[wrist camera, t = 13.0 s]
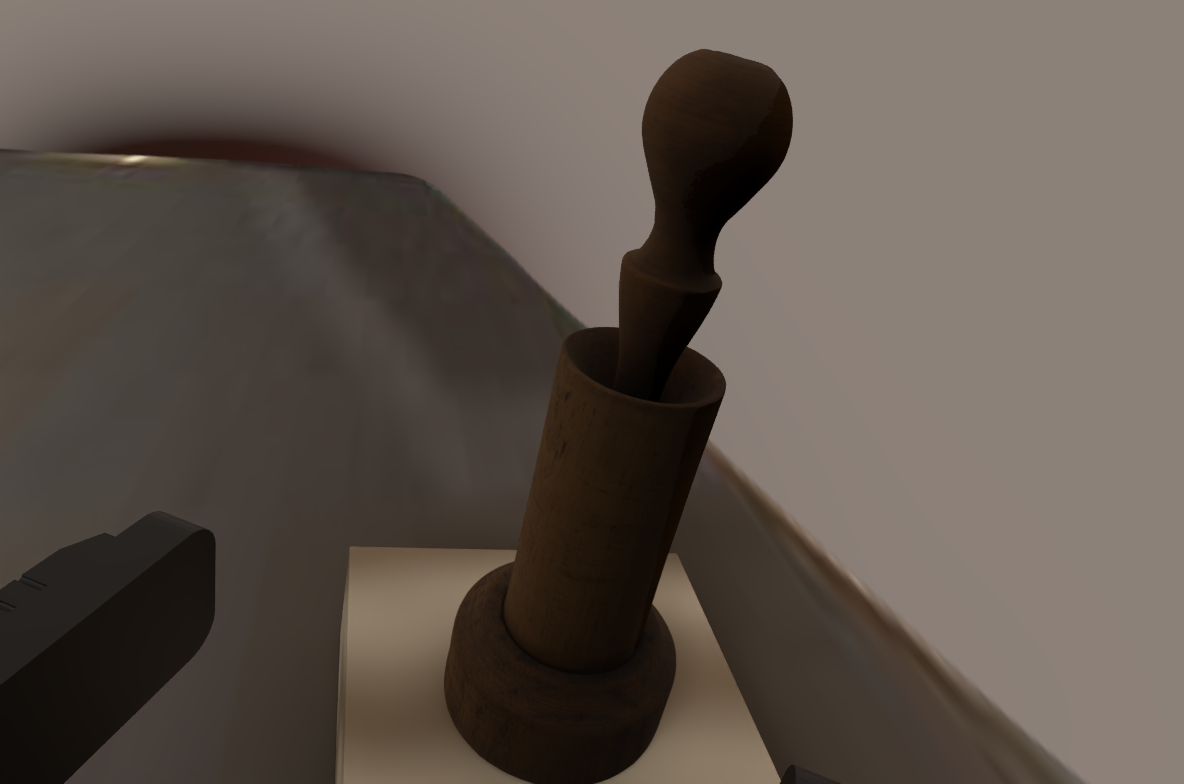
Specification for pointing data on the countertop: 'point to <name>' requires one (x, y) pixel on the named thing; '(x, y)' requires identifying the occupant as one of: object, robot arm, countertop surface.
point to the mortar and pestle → (618, 461)
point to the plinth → (417, 666)
